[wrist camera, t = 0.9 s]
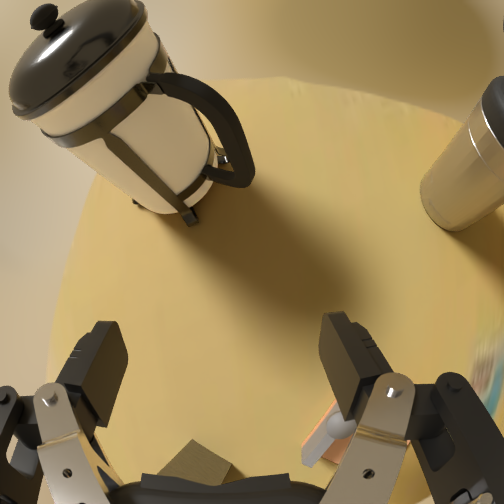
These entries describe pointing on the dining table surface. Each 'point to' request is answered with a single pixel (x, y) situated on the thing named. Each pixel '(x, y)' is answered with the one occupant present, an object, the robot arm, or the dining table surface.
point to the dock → (328, 437)
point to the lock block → (197, 465)
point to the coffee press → (127, 106)
